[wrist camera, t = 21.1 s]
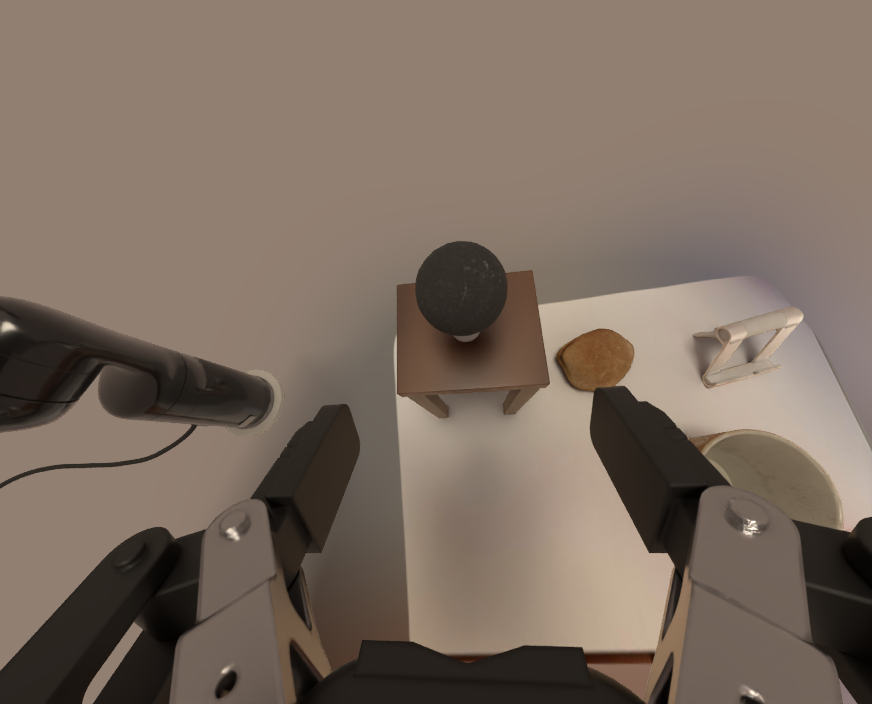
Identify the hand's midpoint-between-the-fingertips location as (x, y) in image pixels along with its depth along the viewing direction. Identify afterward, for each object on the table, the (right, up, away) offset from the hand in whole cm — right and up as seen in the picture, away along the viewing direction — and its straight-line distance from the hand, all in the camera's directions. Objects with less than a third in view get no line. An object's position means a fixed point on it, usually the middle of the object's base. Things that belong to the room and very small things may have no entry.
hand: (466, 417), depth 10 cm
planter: (+33, -15, +30) cm, 47 cm away
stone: (+23, 0, +37) cm, 43 cm away
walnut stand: (+5, -3, +38) cm, 39 cm away
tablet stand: (+40, +2, +35) cm, 53 cm away
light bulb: (+2, +4, +16) cm, 16 cm away
